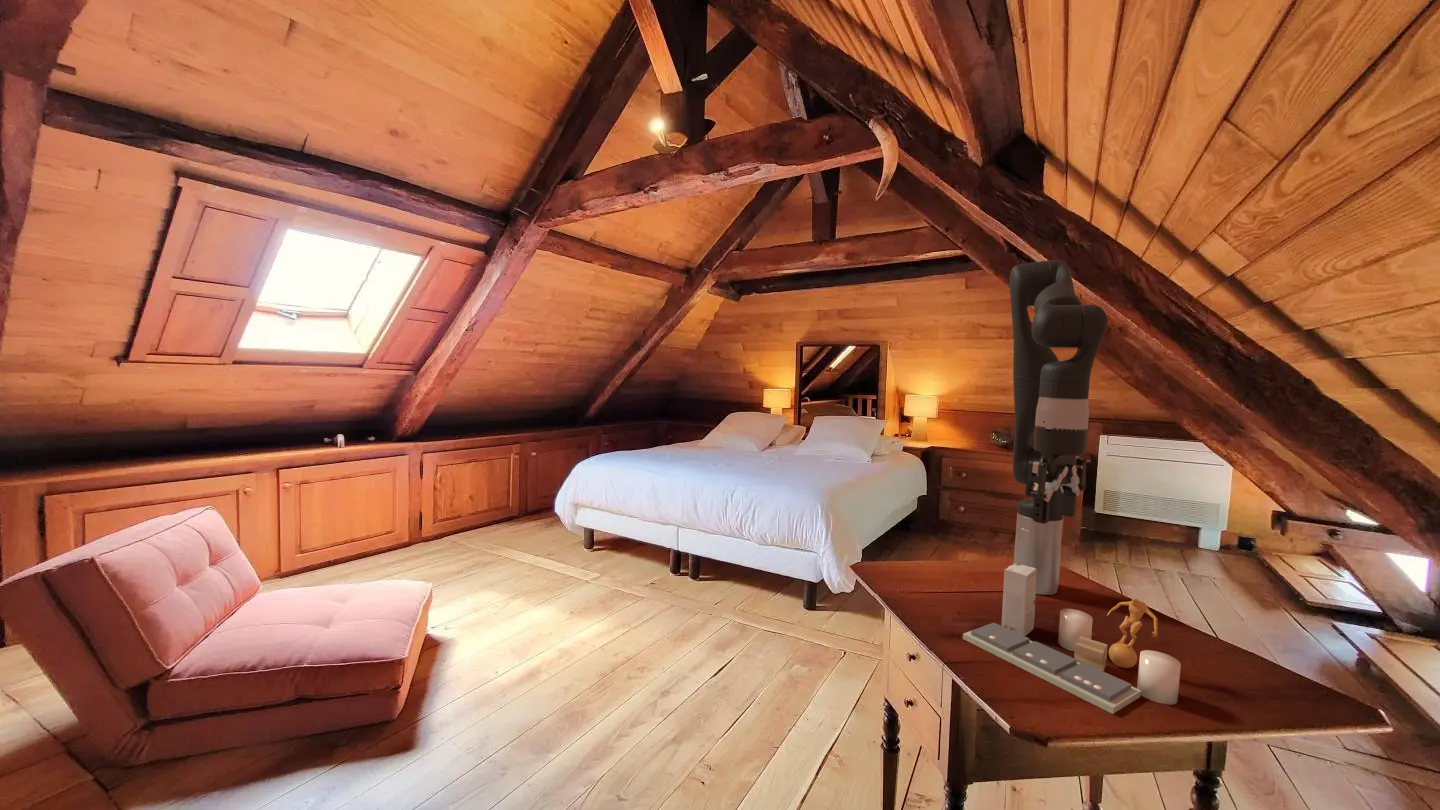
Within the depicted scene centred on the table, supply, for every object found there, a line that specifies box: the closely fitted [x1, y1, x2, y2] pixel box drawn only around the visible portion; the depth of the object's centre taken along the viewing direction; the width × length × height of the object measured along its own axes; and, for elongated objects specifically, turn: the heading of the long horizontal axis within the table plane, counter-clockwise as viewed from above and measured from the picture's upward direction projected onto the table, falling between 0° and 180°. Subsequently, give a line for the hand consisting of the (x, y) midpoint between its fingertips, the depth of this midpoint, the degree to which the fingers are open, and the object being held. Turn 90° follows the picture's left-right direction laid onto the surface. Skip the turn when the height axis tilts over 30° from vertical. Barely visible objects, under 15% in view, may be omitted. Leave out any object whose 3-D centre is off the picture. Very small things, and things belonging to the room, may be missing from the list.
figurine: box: [1106, 597, 1159, 669], centre depth 94 cm, size 8×6×12 cm
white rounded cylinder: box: [1057, 608, 1093, 652], centre depth 100 cm, size 5×5×6 cm
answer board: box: [962, 622, 1142, 715], centre depth 93 cm, size 9×25×2 cm, turn 31°
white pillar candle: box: [1136, 649, 1182, 706], centre depth 86 cm, size 5×5×6 cm
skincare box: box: [1001, 563, 1037, 637], centre depth 106 cm, size 6×4×12 cm
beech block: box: [1073, 636, 1108, 672], centre depth 94 cm, size 4×4×4 cm
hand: (1053, 519), depth 92 cm, fingers open, 8 cm apart
